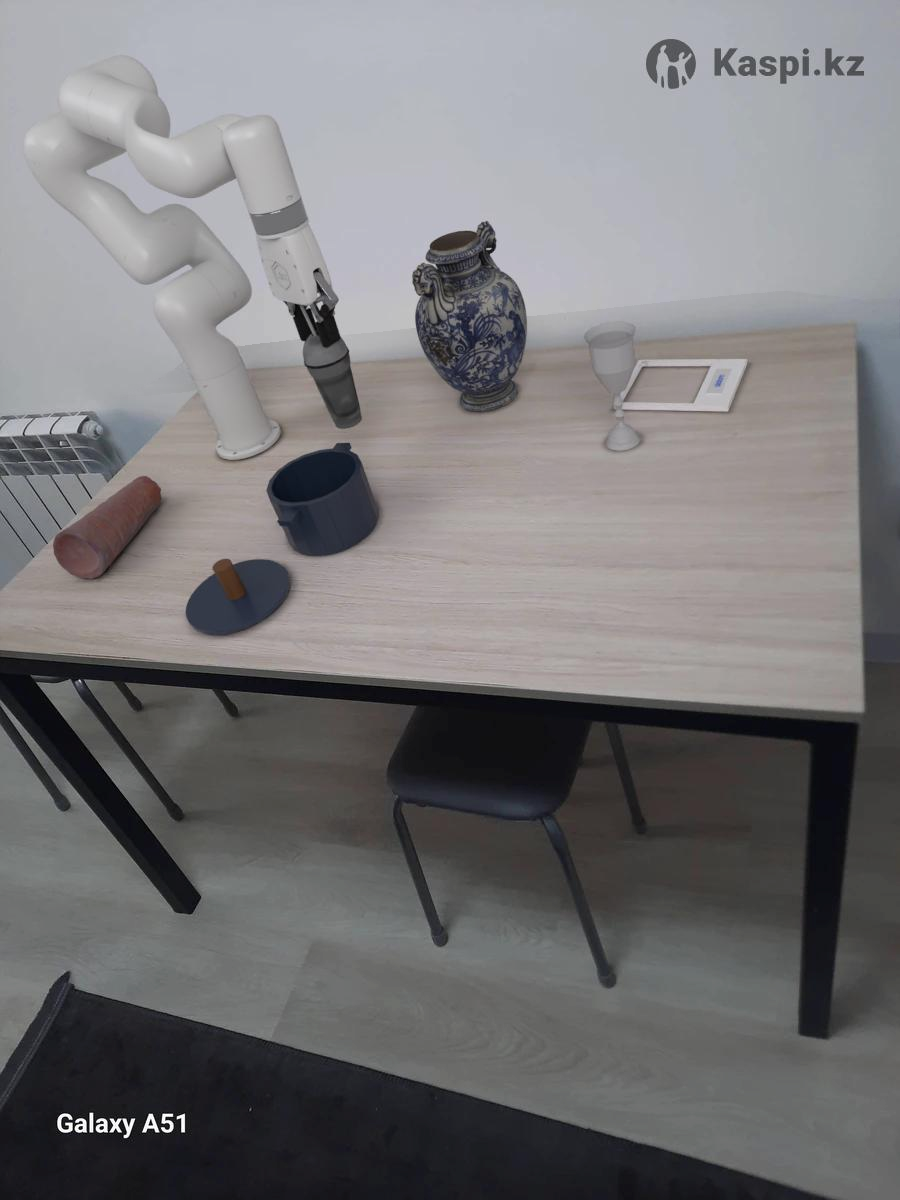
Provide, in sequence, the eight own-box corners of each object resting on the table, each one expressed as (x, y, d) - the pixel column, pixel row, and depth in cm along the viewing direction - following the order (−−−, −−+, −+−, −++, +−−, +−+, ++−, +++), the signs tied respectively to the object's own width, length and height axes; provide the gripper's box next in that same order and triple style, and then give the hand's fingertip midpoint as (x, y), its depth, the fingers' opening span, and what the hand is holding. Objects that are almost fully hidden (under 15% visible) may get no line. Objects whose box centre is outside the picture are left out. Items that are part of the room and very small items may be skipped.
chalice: (594, 453, 131) (578, 345, 120) (605, 429, 136) (590, 322, 124) (641, 454, 128) (629, 342, 117) (651, 429, 133) (640, 319, 121)
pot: (264, 565, 130) (240, 515, 124) (322, 487, 143) (302, 439, 137) (347, 570, 124) (326, 518, 118) (399, 488, 137) (383, 438, 131)
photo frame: (727, 405, 130) (613, 403, 139) (727, 411, 131) (614, 409, 139) (747, 357, 139) (638, 358, 148) (747, 364, 140) (639, 364, 148)
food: (114, 579, 137) (86, 536, 131) (67, 580, 140) (38, 538, 134) (175, 499, 152) (152, 457, 146) (131, 502, 155) (107, 461, 149)
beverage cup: (363, 431, 136) (323, 311, 123) (321, 435, 138) (278, 318, 125) (375, 407, 141) (338, 290, 128) (334, 411, 143) (293, 296, 130)
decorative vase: (479, 363, 164) (444, 213, 146) (563, 371, 153) (536, 211, 135) (413, 422, 152) (367, 267, 135) (499, 435, 142) (461, 269, 124)
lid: (168, 633, 123) (147, 598, 118) (224, 562, 133) (206, 528, 129) (258, 642, 116) (239, 606, 112) (309, 567, 127) (293, 532, 122)
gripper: (225, 224, 122) (270, 342, 134) (293, 234, 111) (336, 361, 123) (266, 203, 125) (307, 321, 137) (337, 211, 114) (374, 338, 126)
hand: (320, 339), depth 130 cm, fingers closed on beverage cup, 4 cm apart
